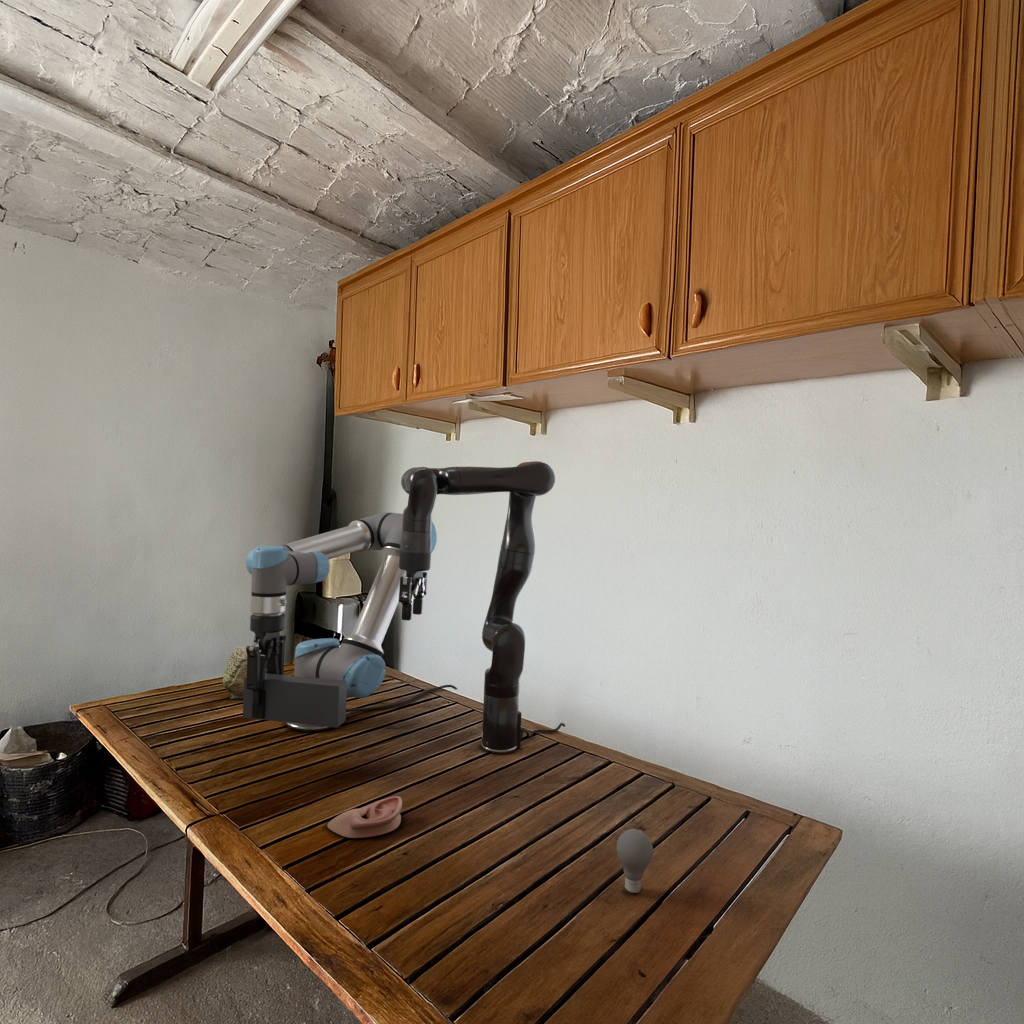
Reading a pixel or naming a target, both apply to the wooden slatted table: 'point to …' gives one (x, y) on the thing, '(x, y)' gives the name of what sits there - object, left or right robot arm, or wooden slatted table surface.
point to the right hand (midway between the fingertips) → (412, 617)
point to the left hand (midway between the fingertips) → (264, 713)
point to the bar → (301, 700)
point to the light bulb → (634, 857)
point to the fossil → (236, 673)
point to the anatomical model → (369, 819)
